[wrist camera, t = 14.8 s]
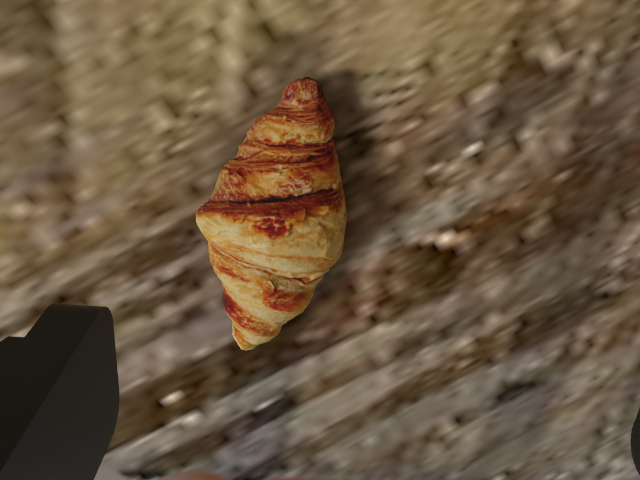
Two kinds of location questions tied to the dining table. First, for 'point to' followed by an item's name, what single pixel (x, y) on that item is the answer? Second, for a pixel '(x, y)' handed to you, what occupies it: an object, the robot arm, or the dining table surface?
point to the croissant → (277, 215)
